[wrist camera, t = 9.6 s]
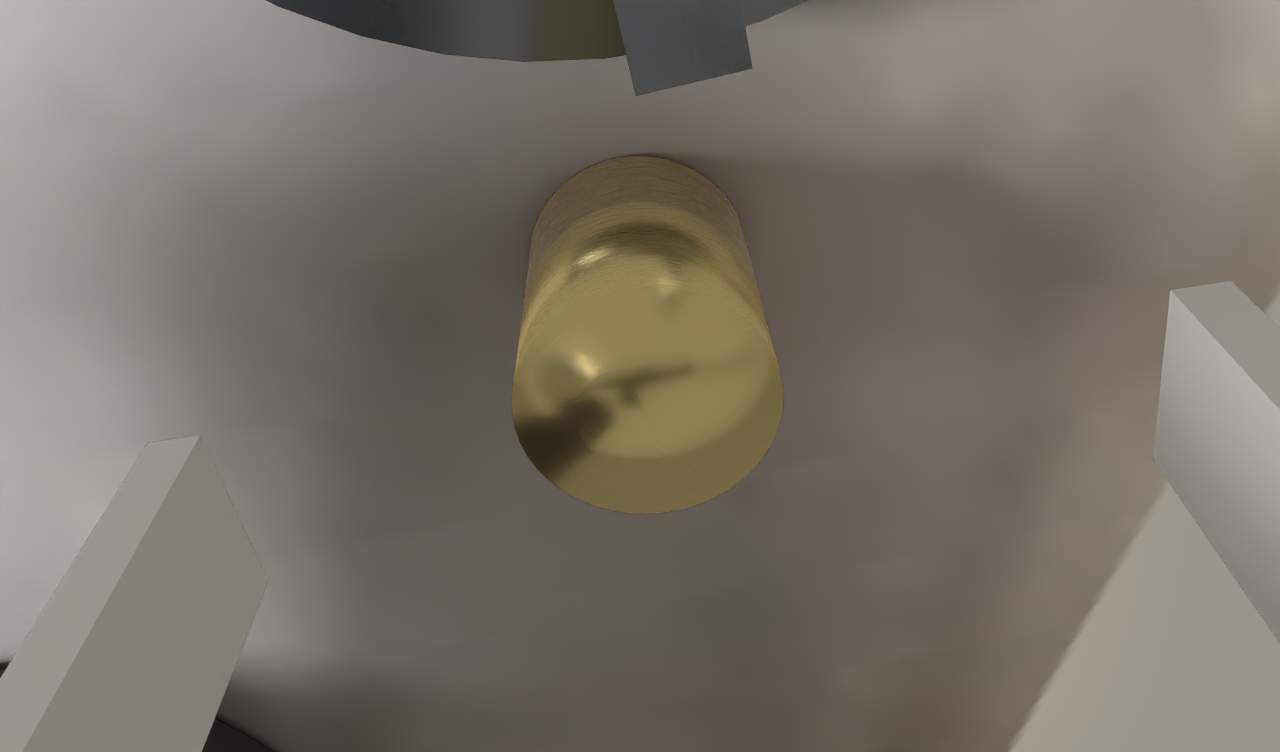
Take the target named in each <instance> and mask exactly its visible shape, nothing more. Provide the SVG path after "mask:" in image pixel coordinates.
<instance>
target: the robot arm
mask: <svg viewBox="0 0 1280 752" xmlns="http://www.w3.org/2000/svg"><path fill="white" fill-rule="evenodd" d="M1153 460H1154V462H1155V463H1156V465H1157V466H1158V467H1159V469H1160V470H1161V472H1162V473H1163V475H1164V476H1165V478H1166V479H1167V481H1168V482H1169V483H1170V485H1171V486H1172V488H1173V489H1174V491H1175V492H1176V494H1177V495H1178V496H1179V498H1180V499H1181V501H1182V502H1183V504H1184V505H1185V506H1186V508H1187V509H1188V511H1189V512H1190V514H1191V515H1192V517H1193V518H1194V519H1195V521H1196V523H1197V524H1198V525H1199V527H1200V528H1201V530H1202V531H1203V533H1204V534H1205V536H1206V537H1207V539H1208V540H1209V541H1210V543H1211V544H1212V546H1213V547H1214V549H1215V550H1216V552H1217V553H1218V555H1219V556H1220V557H1221V559H1222V560H1223V562H1224V563H1225V565H1226V566H1227V567H1228V569H1229V571H1230V572H1231V573H1232V575H1233V576H1234V578H1235V579H1236V581H1237V582H1238V583H1239V585H1240V586H1241V588H1242V589H1243V591H1244V592H1245V594H1246V595H1247V597H1248V598H1249V600H1250V601H1251V602H1252V604H1253V605H1254V607H1255V608H1256V610H1257V611H1258V613H1259V614H1260V616H1261V617H1262V618H1263V620H1264V621H1265V623H1266V624H1267V625H1268V627H1269V629H1270V630H1271V631H1272V633H1273V634H1274V636H1275V637H1276V639H1277V640H1278V642H1279V643H1280V328H1279V327H1278V326H1277V325H1276V324H1275V323H1274V322H1273V321H1272V320H1271V319H1270V318H1269V317H1268V316H1267V315H1266V314H1265V313H1264V312H1263V311H1262V310H1261V309H1260V308H1259V307H1258V306H1257V305H1255V304H1254V303H1253V302H1252V301H1251V300H1250V299H1249V298H1248V297H1247V296H1246V295H1245V294H1244V293H1243V292H1242V291H1241V290H1240V289H1239V288H1238V287H1237V286H1236V285H1235V284H1234V283H1233V282H1232V281H1226V282H1220V283H1213V284H1206V285H1199V286H1193V287H1186V288H1179V289H1173V290H1170V298H1169V307H1168V317H1167V326H1166V336H1165V345H1164V355H1163V364H1162V374H1161V383H1160V393H1159V402H1158V412H1157V421H1156V431H1155V440H1154V450H1153ZM268 582H269V580H268V578H267V576H266V574H265V572H264V570H263V568H262V565H261V563H260V561H259V559H258V557H257V555H256V553H255V551H254V548H253V546H252V544H251V542H250V540H249V538H248V536H247V533H246V531H245V529H244V527H243V525H242V523H241V521H240V518H239V516H238V514H237V512H236V510H235V508H234V506H233V504H232V501H231V499H230V497H229V495H228V493H227V491H226V489H225V486H224V484H223V482H222V480H221V478H220V476H219V474H218V471H217V469H216V467H215V465H214V463H213V461H212V459H211V457H210V454H209V452H208V450H207V448H206V446H205V444H204V442H203V439H202V437H201V435H196V436H189V437H183V438H176V439H169V440H163V441H156V442H149V443H147V445H146V446H145V448H144V449H143V451H142V453H141V454H140V456H139V457H138V459H137V461H136V462H135V464H134V465H133V467H132V469H131V470H130V472H129V473H128V475H127V477H126V478H125V480H124V481H123V483H122V485H121V486H120V488H119V489H118V491H117V492H116V494H115V496H114V497H113V499H112V500H111V502H110V504H109V505H108V507H107V508H106V510H105V512H104V513H103V515H102V516H101V518H100V520H99V521H98V523H97V524H96V526H95V528H94V529H93V531H92V532H91V534H90V536H89V537H88V539H87V540H86V542H85V544H84V545H83V547H82V548H81V550H80V552H79V553H78V555H77V556H76V558H75V560H74V561H73V563H72V564H71V566H70V568H69V569H68V571H67V572H66V574H65V576H64V577H63V579H62V580H61V582H60V584H59V585H58V587H57V588H56V590H55V592H54V593H53V595H52V596H51V598H50V600H49V601H48V603H47V604H46V606H45V608H44V609H43V611H42V612H41V614H40V616H39V617H38V619H37V620H36V622H35V624H34V625H33V627H32V628H31V630H30V632H29V633H28V635H27V636H26V638H25V640H24V641H23V643H22V644H21V646H20V648H19V649H18V651H17V652H16V654H15V656H14V657H13V659H12V660H11V662H10V664H9V665H8V667H7V668H6V670H0V752H270V751H268V750H267V749H266V748H264V747H263V746H261V745H260V744H258V743H257V742H255V741H253V740H252V739H250V738H248V737H247V736H245V735H243V734H242V733H240V732H238V731H236V730H234V729H232V728H231V727H229V726H227V725H225V724H223V723H221V722H219V721H217V720H215V717H216V714H217V712H218V709H219V706H220V704H221V701H222V699H223V696H224V694H225V691H226V689H227V686H228V684H229V681H230V678H231V676H232V673H233V671H234V668H235V666H236V663H237V661H238V658H239V656H240V653H241V651H242V648H243V645H244V643H245V640H246V638H247V635H248V633H249V630H250V628H251V625H252V623H253V620H254V617H255V615H256V612H257V610H258V607H259V605H260V602H261V600H262V597H263V595H264V592H265V590H266V587H267V584H268Z"/></svg>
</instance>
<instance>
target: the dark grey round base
mask: <svg viewBox="0 0 1280 752" xmlns="http://www.w3.org/2000/svg"><path fill="white" fill-rule="evenodd" d="M266 1H268V2H270V3H272V4H275V5H277V6H279V7H281V8H284V9H287V10H290V11H292V12H295V13H298V14H301V15H304V16H306V17H309V18H312V19H315V20H318V21H321V22H323V23H326V24H329V25H332V26H335V27H337V28H340V29H343V30H346V31H349V32H351V33H354V34H357V35H360V36H363V37H368V38H372V39H377V40H381V41H386V42H390V43H395V44H400V45H404V46H409V47H413V48H418V49H422V50H427V51H431V52H436V53H440V54H446V55H457V56H468V57H479V58H490V59H501V60H512V61H523V62H528V61H554V60H579V59H604V58H611V57H617V56H622V55H626V56H627V60H628V65H629V69H630V73H631V77H632V82H633V86H634V90H635V94H636V96H638V95H642V94H647V93H651V92H655V91H659V90H663V89H668V88H672V87H676V86H680V85H684V84H689V83H693V82H697V81H701V80H705V79H710V78H714V77H718V76H722V75H727V74H731V73H735V72H739V71H743V70H748V69H752V64H751V58H750V53H749V47H748V41H747V36H746V30H745V26H747V25H750V24H753V23H756V22H760V21H763V20H765V19H767V18H770V17H772V16H774V15H776V14H778V13H780V12H783V11H785V10H787V9H789V8H791V7H794V6H796V5H798V4H800V3H802V2H805V1H807V0H266Z"/></svg>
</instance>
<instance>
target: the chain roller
mask: <svg viewBox="0 0 1280 752" xmlns="http://www.w3.org/2000/svg"><path fill="white" fill-rule="evenodd" d="M783 402H784V399H783V384H782V379H781V374H780V369H779V366H778V362H777V358H776V354H775V350H774V347H773V343H772V339H771V335H770V332H769V328H768V324H767V320H766V316H765V313H764V309H763V305H762V301H761V298H760V294H759V290H758V286H757V283H756V279H755V275H754V271H753V267H752V264H751V260H750V256H749V252H748V249H747V245H746V241H745V237H744V233H743V230H742V227H741V224H740V221H739V218H738V216H737V214H736V212H735V210H734V208H733V206H732V204H731V203H730V202H729V200H728V199H727V198H726V196H725V195H724V193H723V192H722V191H721V190H720V189H719V188H718V187H717V186H716V185H715V184H714V183H712V182H711V181H710V180H709V179H707V178H706V177H705V176H704V175H702V174H700V173H699V172H697V171H695V170H693V169H692V168H690V167H687V166H685V165H683V164H680V163H678V162H674V161H671V160H667V159H664V158H657V157H650V156H630V157H620V158H616V159H611V160H607V161H604V162H601V163H598V164H596V165H593V166H590V167H589V168H587V169H585V170H583V171H581V172H579V173H577V174H576V175H575V176H573V177H572V178H570V179H569V180H568V181H566V182H565V183H564V184H563V185H562V186H561V187H560V188H559V189H558V190H557V191H556V192H555V193H554V194H553V195H552V197H551V198H550V199H549V200H548V201H547V203H546V205H545V206H544V208H543V210H542V211H541V213H540V215H539V217H538V220H537V222H536V224H535V228H534V231H533V235H532V240H531V248H530V256H529V263H528V271H527V279H526V287H525V295H524V303H523V311H522V319H521V327H520V335H519V343H518V351H517V359H516V367H515V375H514V382H513V391H512V416H513V421H514V426H515V430H516V433H517V436H518V438H519V441H520V443H521V445H522V447H523V449H524V451H525V453H526V454H527V456H528V457H529V459H530V460H531V461H532V463H533V464H534V466H535V467H536V468H537V469H538V470H539V471H540V472H541V473H542V474H543V475H544V476H545V477H546V478H547V479H548V480H549V481H550V482H552V483H553V484H554V485H556V486H557V487H558V488H559V489H561V490H563V491H564V492H566V493H568V494H569V495H571V496H573V497H575V498H577V499H579V500H581V501H583V502H586V503H588V504H591V505H594V506H597V507H600V508H603V509H608V510H613V511H617V512H625V513H634V514H654V513H664V512H671V511H676V510H681V509H686V508H689V507H692V506H695V505H698V504H701V503H704V502H706V501H708V500H710V499H713V498H715V497H717V496H719V495H720V494H722V493H724V492H726V491H727V490H729V489H731V488H732V487H733V486H735V485H736V484H737V483H739V482H740V481H741V480H743V479H744V478H745V477H746V476H747V475H748V474H749V473H750V472H751V471H752V470H753V469H754V468H755V467H756V466H757V465H758V463H759V462H760V461H761V460H762V459H763V457H764V456H765V454H766V453H767V451H768V449H769V448H770V446H771V445H772V442H773V440H774V438H775V436H776V433H777V431H778V428H779V424H780V421H781V417H782V410H783Z"/></svg>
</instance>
